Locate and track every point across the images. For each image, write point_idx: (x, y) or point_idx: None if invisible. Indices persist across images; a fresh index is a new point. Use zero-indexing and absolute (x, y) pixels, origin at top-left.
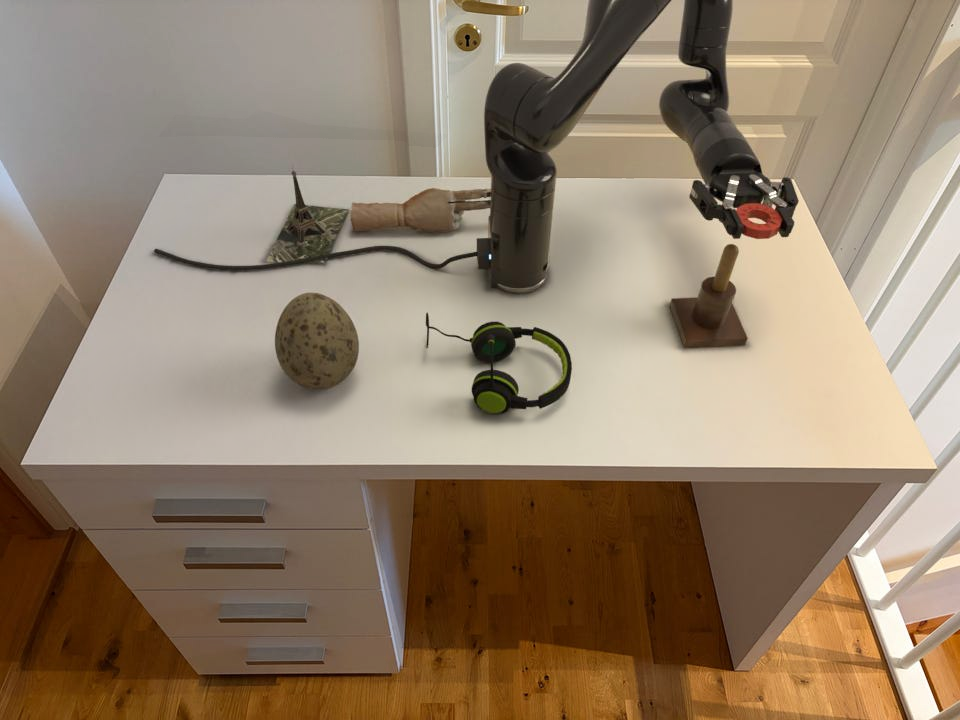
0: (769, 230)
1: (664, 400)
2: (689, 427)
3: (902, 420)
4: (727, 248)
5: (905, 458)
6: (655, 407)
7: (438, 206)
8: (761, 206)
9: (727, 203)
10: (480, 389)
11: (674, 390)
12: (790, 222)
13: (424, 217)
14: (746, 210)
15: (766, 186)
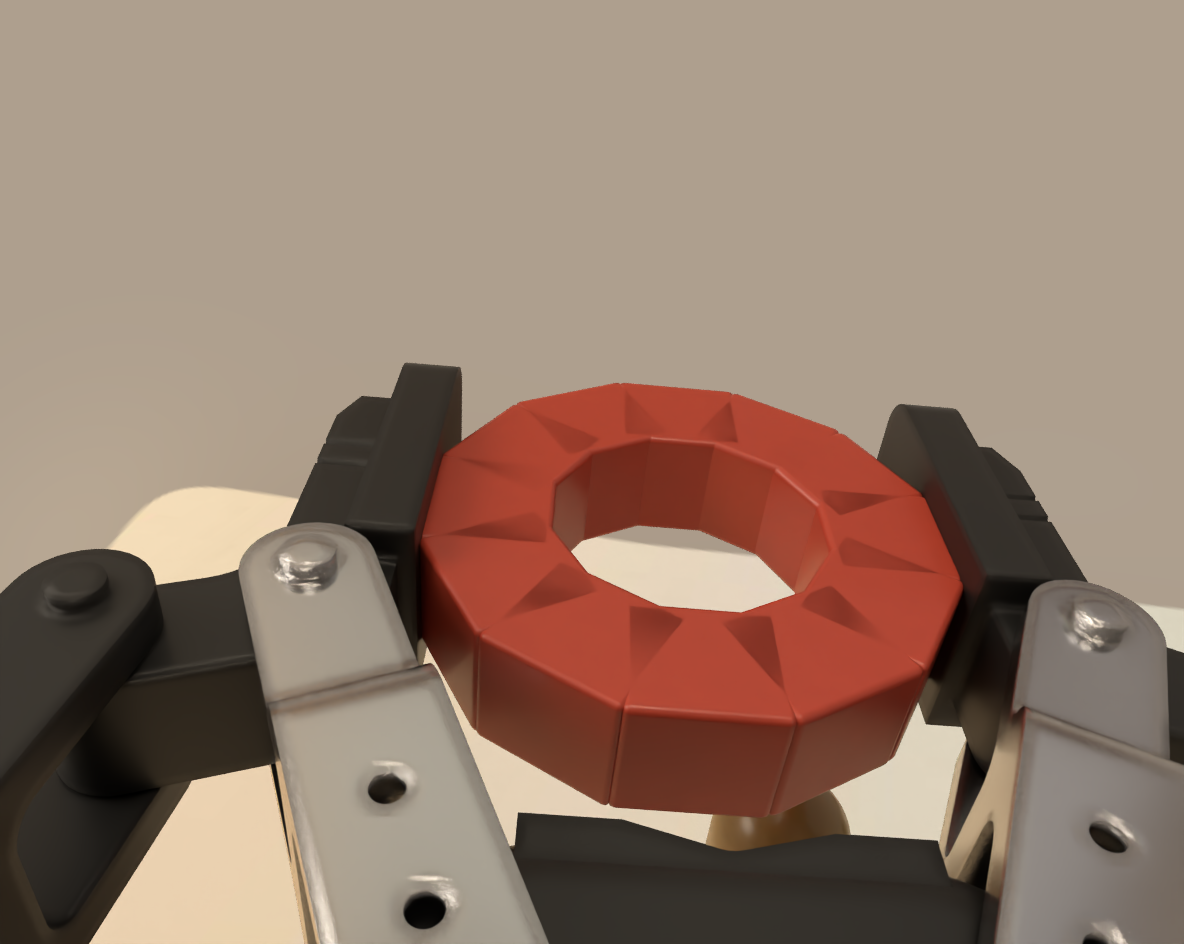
0: (641, 385)
1: (922, 753)
2: None
3: None
4: (837, 801)
5: (206, 495)
6: (955, 730)
7: None
8: (584, 645)
9: (1116, 625)
10: None
11: (881, 789)
12: (415, 368)
13: None
14: (815, 601)
15: (362, 852)
